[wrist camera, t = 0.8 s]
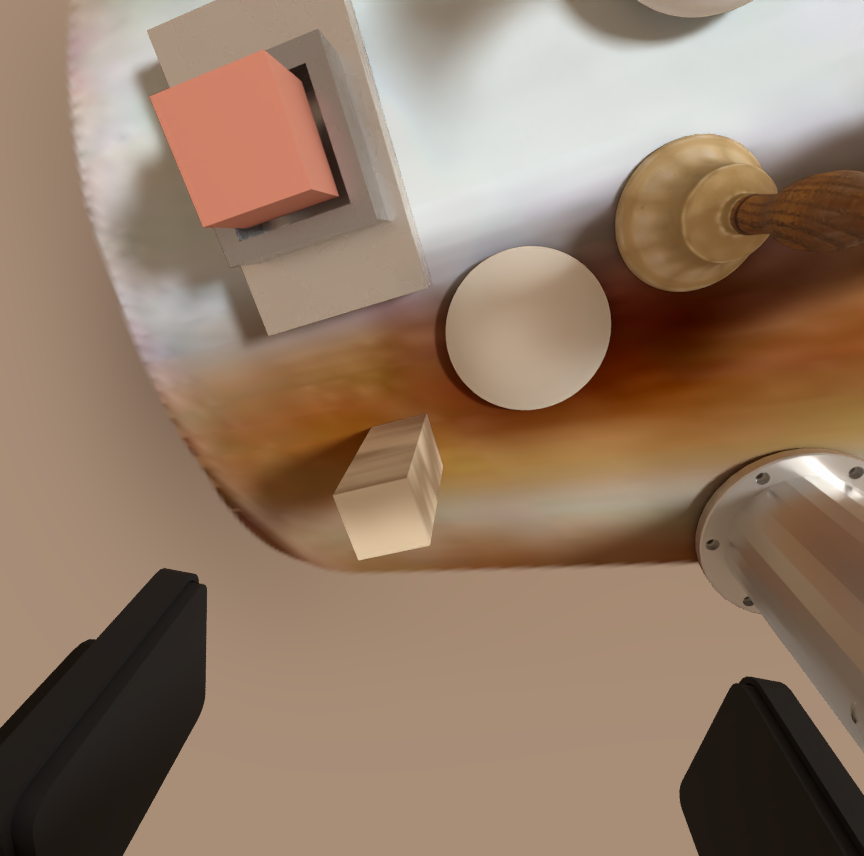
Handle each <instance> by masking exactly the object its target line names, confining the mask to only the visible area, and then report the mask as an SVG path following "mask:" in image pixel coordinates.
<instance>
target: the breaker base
mask: <svg viewBox="0 0 864 856" xmlns="http://www.w3.org/2000/svg"><path fill="white" fill-rule="evenodd" d="M147 32H148V35H149V37H150V40H151V42H152V45H153V47H154V50H155V52H156V55H157V57H158V60H159V62H160V65H161V67H162V70H163V72H164V75H165V77H166V80H167V82H168V85H169V87H170V88H171V87H173V86H176V85H178V84H181V83H183V82H186V81H188V80H190V79H193V78H195V77H198V76H200V75H203V74H205V73H207V72H210V71H212V70H215V69H217V68H220V67H222V66H224V65H227V64H229V63H232V62H234V61H236V60H239V59H241V58H244V57H246V56H249V55H251V54H253V53H256V52H258V51H261V50H263V49H264V50H265V51H266V52H268V53H269V54H270V55H271V56H272V57H273V58H275V59H276V60H277V61H278V62H279V63H280V64H282V65H283V66H284V67H285V68H286V69H288V70H289V71H290V72H291V73H292V74H293V75H295V76H296V77H297V78H298V79H299V80H301V81H302V84H303V87H304V90H305V94H306V97H307V100H308V103H309V106H310V109H311V112H312V115H313V118H314V121H315V124H316V127H317V130H318V133H319V136H320V139H321V142H322V146H323V149H324V152H325V155H326V158H327V161H328V164H329V167H330V170H331V173H332V176H333V179H334V182H335V185H336V188H337V191H338V195H339V197H336V198H333V199H330V200H328V201H325V202H322V203H319V204H316V205H313V206H310V207H307V208H304V209H302V210H299V211H296V212H293V213H290V214H287V215H284V216H281V217H278V218H276V219H273V220H270V221H267V222H264V223H261V224H258V225H255V226H252V227H250V228H214V230H215V232H216V235H217V237H218V240H219V242H220V245H221V247H222V250H223V252H224V254H225V257H226V259H227V262H228V264H229V267H230V268H231V267H239V266H241V268H242V271H243V273H244V276H245V278H246V281H247V283H248V286H249V288H250V291H251V293H252V296H253V298H254V301H255V303H256V306H257V308H258V311H259V313H260V316H261V318H262V321H263V323H264V326H265V328H266V331H267V333H268V336H270V335H274V334H277V333H280V332H284V331H287V330H290V329H294V328H297V327H300V326H303V325H307V324H310V323H313V322H317V321H320V320H323V319H327V318H330V317H333V316H337V315H340V314H343V313H346V312H350V311H353V310H356V309H360V308H363V307H366V306H370V305H373V304H376V303H380V302H383V301H386V300H389V299H393V298H396V297H399V296H403V295H406V294H409V293H413V292H416V291H419V290H423V289H426V288H428V287H429V286H430V285H431V284H432V280H431V277H430V273H429V270H428V266H427V263H426V259H425V256H424V252H423V249H422V245H421V242H420V238H419V235H418V231H417V228H416V224H415V221H414V218H413V214H412V211H411V207H410V204H409V200H408V197H407V193H406V190H405V186H404V183H403V179H402V176H401V172H400V169H399V165H398V162H397V159H396V155H395V152H394V148H393V145H392V141H391V138H390V134H389V131H388V127H387V124H386V120H385V117H384V113H383V110H382V106H381V103H380V100H379V96H378V93H377V89H376V86H375V82H374V79H373V75H372V72H371V68H370V65H369V61H368V58H367V54H366V51H365V47H364V44H363V41H362V37H361V34H360V30H359V27H358V23H357V20H356V16H355V13H354V9H353V6H352V2H351V0H215V1H213V2H211V3H209V4H206V5H204V6H202V7H200V8H197V9H195V10H193V11H190V12H188V13H186V14H184V15H181V16H179V17H177V18H175V19H172V20H170V21H168V22H165V23H163V24H161V25H159V26H156V27H154V28H152V29H149V30H147Z"/></svg>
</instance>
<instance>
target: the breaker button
mask: <svg viewBox="0 0 864 856" xmlns="http://www.w3.org/2000/svg"><path fill="white" fill-rule="evenodd" d="M149 97H150V99H151V102H152V104H153V107H154V109H155V112H156V114H157V116H158V119H159V121H160V124H161V126H162V129H163V131H164V133H165V136H166V138H167V141H168V143H169V146H170V148H171V150H172V153H173V155H174V158H175V160H176V163H177V165H178V167H179V170H180V172H181V175H182V177H183V180H184V182H185V184H186V187H187V189H188V192H189V194H190V197H191V199H192V202H193V204H194V206H195V209H196V211H197V214H198V216H199V219H200V221H201V223H202V226H203V227H209V228H250V227H252V226H255V225H258V224H261V223H264V222H267V221H270V220H273V219H276V218H278V217H281V216H284V215H287V214H290V213H293V212H296V211H299V210H302V209H304V208H307V207H310V206H313V205H316V204H319V203H322V202H325V201H328V200H330V199H333V198H336V197H339V195H338V191H337V188H336V185H335V182H334V179H333V176H332V173H331V170H330V167H329V164H328V161H327V158H326V155H325V152H324V149H323V146H322V142H321V139H320V136H319V133H318V130H317V127H316V124H315V121H314V118H313V115H312V112H311V109H310V106H309V103H308V100H307V97H306V94H305V90H304V87H303V84H302V81H301V80H299V79H298V78H297V77H296V76H295V75H293V74H292V73H291V72H290V71H289V70H288V69H286V68H285V67H284V66H283V65H282V64H280V63H279V62H278V61H277V60H276V59H275V58H273V57H272V56H271V55H270V54H269V53H268V52H266V51H265V50H264V49H263V50H261V51H258V52H256V53H253V54H251V55H249V56H246V57H244V58H241V59H239V60H236V61H234V62H232V63H229V64H227V65H224V66H222V67H220V68H217V69H215V70H212V71H210V72H207V73H205V74H203V75H200V76H198V77H195V78H193V79H190V80H188V81H186V82H183V83H181V84H178V85H176V86H173V87H171V88H169V89H166V90H164V91H161V92H159V93H157V94H154V95H152V96H149Z"/></svg>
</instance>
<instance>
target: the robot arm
mask: <svg viewBox="0 0 864 856" xmlns="http://www.w3.org/2000/svg"><path fill="white" fill-rule="evenodd" d="M695 549H696V554H697V558H698V562H699V565H700V567H701V568H702V570H703V572H704V574H705V576H706V577H707V579H708V580H709V582H710V583H711V584H712V586H713V587H714V589H715V590H716V591H717V592H718V593H720V594H721V595H722V596H723V597H724V598H725V599H726V600H728V601H730V602H731V603H733V604H735V605H736V606H738V607H740V608H743V609H746V610H748V611H751V612H753V613H759V614H762V615H763V617H764V618H765V619H766V621H767V622H768V623H769V625H770V626H771V628H772V629H773V630H774V632H775V633H776V634H777V636H778V637H779V638H780V640H781V641H782V643H783V644H784V645H785V647H786V648H787V649H788V651H789V652H790V653H791V654H792V656H793V657H794V659H795V660H796V662H797V663H798V664H799V666H800V667H801V668H802V670H803V671H804V672H805V674H806V675H807V676H808V678H809V679H810V681H811V682H812V683H813V685H814V686H815V687H816V689H817V690H818V691H819V693H820V694H821V695H822V697H823V698H824V700H825V701H826V702H827V704H828V705H829V706H830V708H831V709H832V710H833V712H834V713H835V715H836V716H837V717H838V719H839V720H840V721H841V723H842V724H843V725H844V727H845V728H846V729H847V731H848V732H849V734H850V735H851V736H852V738H853V739H854V740H855V742H856V743H857V744H858V746H859V747H860V748H861V750H862V751H863V752H864V461H862V460H861V459H859V458H856V457H854V456H851V455H849V454H846V453H844V452H840V451H835V450H829V449H824V448H801V449H795V450H788V451H782V452H779V453H776V454H773V455H770V456H766V457H763V458H761V459H759V460H757V461H755V462H753V463H751V464H749V465H747V466H745V467H744V468H742V469H741V470H740V471H738V472H737V473H735V474H734V475H732V476H731V477H730V478H729V479H727V480H726V481H725V482H724V483H723V484H722V485H721V486H720V487H719V488H718V489H717V490H716V491H715V493H714V494H713V496H712V497H711V498H710V500H709V501H708V502H707V504H706V506H705V508H704V510H703V512H702V514H701V516H700V518H699V522H698V526H697V530H696V537H695ZM206 617H207V588H206V585H204V584H199V580H198V576H197V575H196V574H192V573H187V572H182V571H176V570H171V569H166V568H164V569H160V570H159V571H158V572H157V573H156V574H155V575H154V576H153V577H152V578H151V579H150V581H149V582H148V583H147V584H146V585H145V586H144V587H143V588H142V589H141V591H140V592H139V593H138V594H137V595H136V596H135V597H134V598H133V599H132V601H131V602H130V603H129V604H128V605H127V606H126V607H125V608H124V609H123V611H121V613H120V614H119V615H118V616H117V617H116V618H115V620H113V622H112V623H111V624H110V625H109V626H108V627H107V628H106V629H105V631H103V633H102V634H101V635H100V636H99V637H98V638H97V639H96V640H95V639H89V640H87V641H85V642H83V643H81V644H80V645H79V646H78V647H77V648H75V649H74V650H73V651H72V652H71V653H70V654H69V655H68V656H67V657H66V658H65V659H64V661H63V662H62V663H61V664H60V665H59V666H58V667H57V668H56V669H55V670H54V671H53V672H52V673H51V674H50V675H49V677H48V678H47V679H46V680H45V681H44V682H43V683H42V684H41V685H40V686H39V687H38V688H37V689H36V691H35V692H34V693H33V694H32V695H31V696H30V697H29V698H28V699H27V700H26V701H25V702H24V703H23V704H22V706H21V707H20V708H19V709H18V710H17V711H16V712H15V713H14V714H13V715H12V716H11V717H10V718H9V720H7V721H6V723H5V724H4V725H3V726H2V727H1V728H0V856H123V854H124V852H125V850H126V849H127V847H128V845H129V843H130V841H131V840H132V838H133V836H134V834H135V832H136V830H137V828H138V827H139V825H140V823H141V821H142V820H143V818H144V816H145V814H146V812H147V810H148V809H149V807H150V805H151V803H152V801H153V799H154V798H155V796H156V794H157V792H158V791H159V789H160V787H161V785H162V783H163V781H164V780H165V778H166V776H167V774H168V772H169V770H170V768H171V767H172V765H173V763H174V761H175V760H176V758H177V756H178V754H179V752H180V750H181V749H182V747H183V745H184V743H185V741H186V740H187V738H188V736H189V734H190V732H191V731H192V729H193V727H194V725H195V723H196V721H197V719H198V718H199V716H200V713H201V711H202V708H203V704H204V700H205V682H206V619H207V618H206ZM680 803H681V807H682V811H683V813H684V816H685V818H686V822H687V824H688V827H689V830H690V833H691V835H692V838H693V841H694V843H695V846H696V849H697V852H698V854H699V856H864V795H863V794H862V792H861V791H860V789H859V788H858V787H857V785H856V783H855V782H854V781H853V779H852V778H851V776H850V775H849V773H848V772H847V771H846V769H845V768H844V766H843V765H842V763H841V762H840V761H839V759H838V758H837V756H836V755H835V753H834V752H833V750H832V749H831V747H830V746H829V745H828V743H827V742H826V740H825V739H824V737H823V736H822V735H821V733H820V732H819V730H818V729H817V727H816V726H815V725H814V723H813V722H812V720H811V719H810V718H809V716H808V714H807V713H806V711H805V710H804V709H803V707H802V706H801V704H800V703H799V701H798V700H797V698H796V697H795V696H794V694H793V693H792V691H791V690H790V689H789V688H788V687H787V686H786V685H785V684H783V683H781V682H776V681H770V680H765V679H760V678H754V677H745V678H743V679H742V680H741V681H740V682H739V684H738V683H735V684H733V685H732V686H731V688H730V689H729V691H728V693H727V695H726V697H725V699H724V701H723V703H722V705H721V707H720V709H719V711H718V712H717V715H716V716H715V718H714V720H713V723H712V724H711V726H710V728H709V730H708V732H707V734H706V736H705V738H704V740H703V742H702V744H701V745H700V747H699V749H698V751H697V753H696V755H695V757H694V759H693V761H692V763H691V765H690V767H689V769H688V771H687V773H686V775H685V777H684V779H683V780H682V783H681V786H680Z"/></svg>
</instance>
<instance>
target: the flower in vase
mask: <svg viewBox="0 0 864 856" xmlns="http://www.w3.org/2000/svg"><path fill="white" fill-rule="evenodd" d="M637 1H639V2H640V3H641V4H643V5H645V6H647V7H649V8H651V9H653V10H655V11H658V12H661V13H664V14H667V15H672V16H679V17H706V16H712V15H718V14H721V13H724V12H728V11H731V10H734V9H736V8H738V7H741V6H743V5H745V4H747V3H749V2H751V1H753V0H637Z"/></svg>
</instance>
